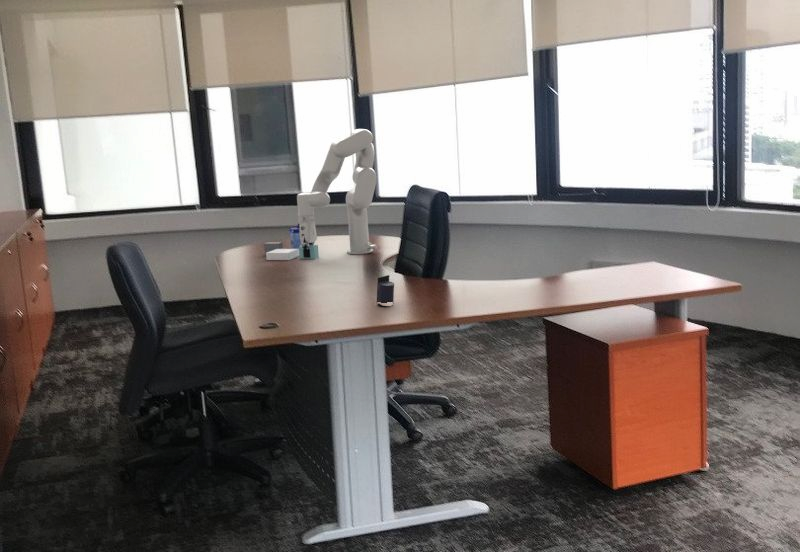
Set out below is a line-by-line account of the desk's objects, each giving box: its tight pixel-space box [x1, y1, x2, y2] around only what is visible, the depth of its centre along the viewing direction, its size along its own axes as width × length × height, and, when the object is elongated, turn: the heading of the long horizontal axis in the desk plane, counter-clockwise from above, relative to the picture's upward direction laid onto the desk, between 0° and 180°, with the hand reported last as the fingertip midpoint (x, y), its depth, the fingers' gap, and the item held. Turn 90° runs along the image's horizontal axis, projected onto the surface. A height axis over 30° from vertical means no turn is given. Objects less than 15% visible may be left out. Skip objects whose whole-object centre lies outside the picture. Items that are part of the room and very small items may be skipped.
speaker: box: [376, 274, 395, 303], centre depth 324 cm, size 8×6×10 cm
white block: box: [265, 248, 300, 261], centre depth 444 cm, size 12×12×4 cm
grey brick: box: [263, 241, 284, 256], centre depth 456 cm, size 8×4×6 cm, turn 71°
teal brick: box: [299, 244, 320, 260], centre depth 439 cm, size 8×4×6 cm, turn 71°
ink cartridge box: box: [289, 223, 307, 249], centre depth 460 cm, size 10×6×14 cm, turn 121°
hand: (309, 256), depth 439 cm, fingers closed on teal brick, 4 cm apart
